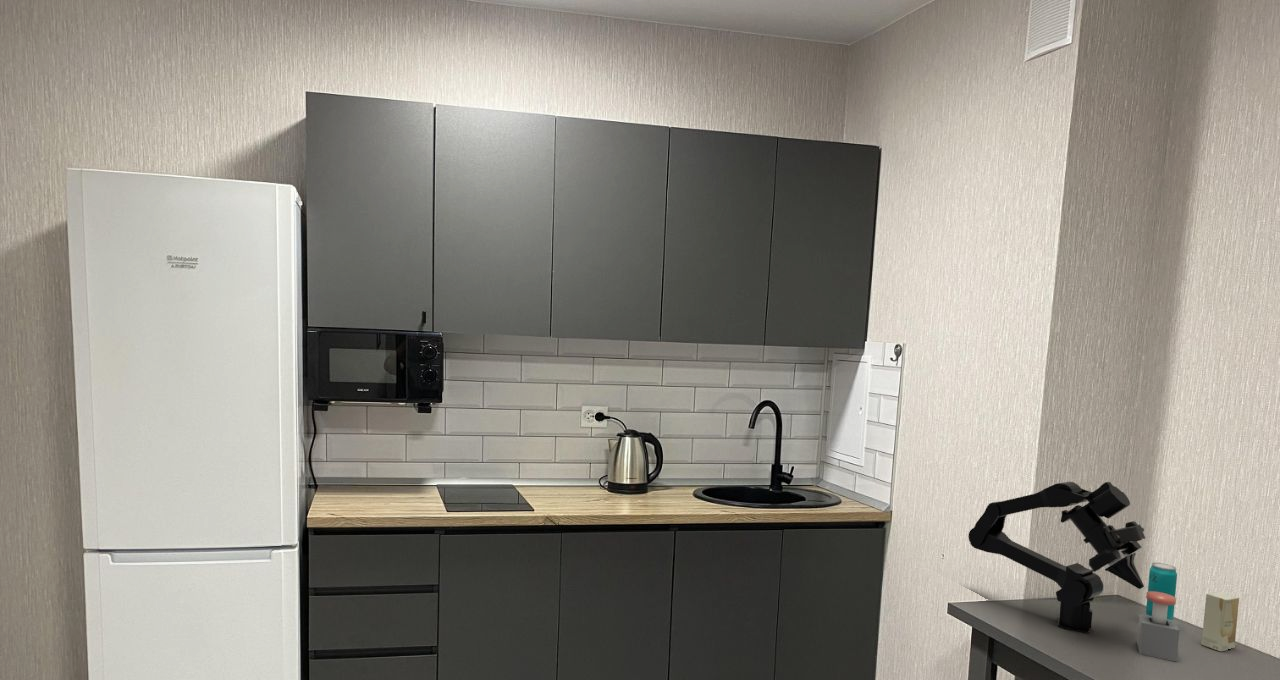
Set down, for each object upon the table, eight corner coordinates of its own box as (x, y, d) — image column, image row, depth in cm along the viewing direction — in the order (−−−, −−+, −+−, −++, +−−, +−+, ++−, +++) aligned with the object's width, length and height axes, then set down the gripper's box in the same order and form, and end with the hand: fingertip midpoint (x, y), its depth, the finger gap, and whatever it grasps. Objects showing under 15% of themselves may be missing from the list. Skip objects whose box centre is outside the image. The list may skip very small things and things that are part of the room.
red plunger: (1144, 629, 179) (1147, 596, 179) (1142, 621, 184) (1145, 589, 184) (1174, 635, 177) (1177, 601, 177) (1171, 627, 182) (1174, 594, 182)
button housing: (1139, 653, 179) (1142, 622, 179) (1136, 643, 185) (1139, 613, 185) (1176, 661, 176) (1179, 630, 176) (1172, 651, 182) (1175, 620, 182)
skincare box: (1220, 652, 183) (1225, 599, 183) (1200, 645, 187) (1204, 593, 187) (1235, 648, 186) (1240, 597, 186) (1215, 641, 190) (1219, 590, 190)
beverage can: (1164, 622, 202) (1169, 563, 201) (1177, 630, 196) (1182, 570, 196) (1140, 619, 202) (1145, 561, 202) (1152, 628, 196) (1158, 567, 196)
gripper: (1108, 514, 180) (1160, 577, 173) (1135, 506, 193) (1184, 563, 185) (1068, 540, 186) (1116, 602, 179) (1096, 530, 199) (1143, 587, 191)
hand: (1141, 587), depth 183 cm, fingers closed
